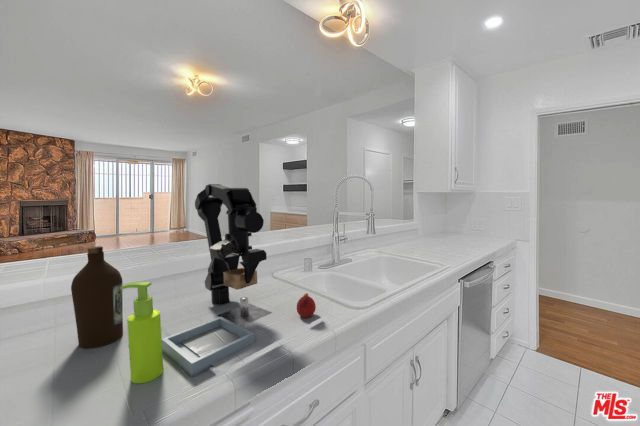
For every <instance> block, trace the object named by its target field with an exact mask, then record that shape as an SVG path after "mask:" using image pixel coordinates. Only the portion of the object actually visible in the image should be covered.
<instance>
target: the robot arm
mask: <svg viewBox="0 0 640 426" xmlns="http://www.w3.org/2000/svg"><path fill="white" fill-rule="evenodd" d="M223 205H224V206H225V207H226V208H227V210H226V213H225V214H226V215H227V224H228V225H227V226H228V233H225V234H224V239H223V238H222V232H221V227H220V222H219V216H220V213H221V211H222V206H223ZM194 208H195V210H196V211H197V216H198V217H200V219H201V220H202V221H203V222H204V228H205V233H206V238H207V245H208V251H209V256H210V260H211V261H210V263H209V266H208V267H207V274H206V275H207V276H205V280H204V287H205V289H206V290H208V291H209V292H210V293H211V294H210V295H211V297H210V298H211V304H213V305H220V306H223V305H226V304H229V303H230V287H228V286H225V285H224V274H223V272H226V271H230V270H234V269H238V268H239V264H240V265H241V266H242V267H244V273H245V280H246V283H247V284H248V283H250V281H251V279H252V277H253V274H254V272H255V270H257V268H258V266H259V264H260V262H262V261H266V260H267V259H268V258H267V256H268V255H267V252H266V250H265V249H259V248H254V249H253V246H252V245H250V237H253V236H252V233H253V234H254V233H258V232H260V231H261V230H262V229H263V227H264V222H265V221H264V218H263V216H262V215H261V213H259V212H258V211H257V210H258V208H257V204H256V201H255V200H254V197H253V195H252V193H251V192H250V189H249V188H247V187H228V186H225V185H222V184H220V183H219V184H218V183H214V184H213V183H208V184H206V185H205V187H204V189H203V190H201V191H199V193H198V194H197V195H196V198H195V200H194ZM240 257H241V260H242V261H240Z"/></svg>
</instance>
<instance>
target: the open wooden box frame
mask: <svg viewBox="0 0 640 426" xmlns="http://www.w3.org/2000/svg"><path fill="white" fill-rule="evenodd" d="M223 274H224V285H225V286H228V287H229V288H230V289H231V288H232V289H234V290H242V289H245V288H248V287H250V286H254V285H257V284H258V270H257V269H256V270H255V272H254V274H253V277H252V279H251V281H250V283H248V284H247V283H246V280H245V273H244V267H243V266H242V267H238V269H234V270H230V271H226V272H223Z"/></svg>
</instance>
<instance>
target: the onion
mask: <svg viewBox="0 0 640 426" xmlns="http://www.w3.org/2000/svg"><path fill="white" fill-rule="evenodd" d="M296 312H297V314H298V315H299V316H300V317H301V318H304V319H306V318H307V319H308V318H311V317H312V315H314V314H315V312H316V302H315V301H314V299H313V297H311V296H309V293H308V292H305V293H304V294H303V296H301V297H300V298H299V300H298V301H297V303H296Z"/></svg>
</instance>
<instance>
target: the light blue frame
mask: <svg viewBox="0 0 640 426" xmlns="http://www.w3.org/2000/svg"><path fill="white" fill-rule="evenodd" d="M217 327H222V328H224V329H225V330H227V331H229V332H231V333H232V334H235V335H236V336H238V337H240V338H237V339H235V340H234V341H231V342H229V343H227V344H225V345H223V346H221V347H218V348H217V349H215V350H212V351H210V352H208V353H205V354H203V355H202V356H200V355H199V354H198V353H196V352H195V351H194V350H192V349H191V348H190V347H188V346H187V345H185V344H184V343H183V342H184V341H186V340H187V339H191V338H193V337H196V336H198V335H201V334H203V333H206V332H207V331H211V330H212V329H215V328H217ZM255 342H256V334H255V333H254V332H252V331H251V330H248V329H247V328H244V327H243V326H239V325H237V324H235V323H233V322H231V321H229V320H227V319H225V318H223V317H219V316H218V317H217V318H213V319H211V320H209V321H206V322H203V323H200V324H197V325H195V326H192V327H189V328H187V329H185V330H182V331H179V332H176V333H174V334H171V335H168V336H167V337H164V338H162V353H164V354H165V355H166V356H168V357H169V358H170V359H171V360H172V361H173V362H174V363H176V364H177V365H178V366H179V367H180V368H181V369H183V370H184V371H185V372H186V374H188V375H189V376H190V377H191V378H194V377H196V376H198V375H200V374H202V373H204V372H206V371H208V370H209V369H211V368H214V367H215V366H214V365H213V364H214V363H216V362H217V361H219V360H221V359H223V358H225V357H227V356H230V355H231V354H233V353H235V352H237V351H240V350H241V349H243V348H245V347H247V346H250V345H251V344H253V343H255Z"/></svg>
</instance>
